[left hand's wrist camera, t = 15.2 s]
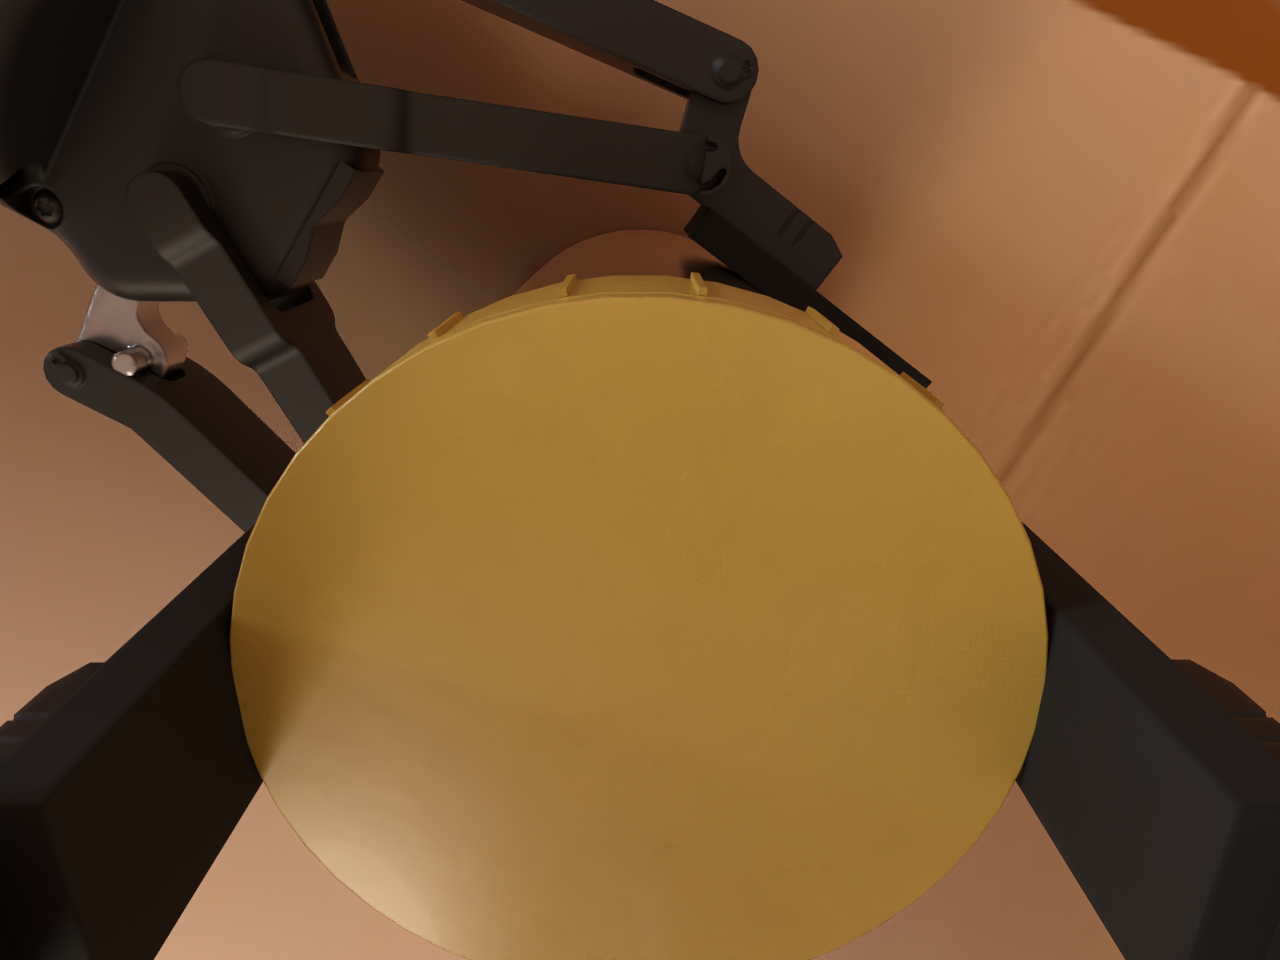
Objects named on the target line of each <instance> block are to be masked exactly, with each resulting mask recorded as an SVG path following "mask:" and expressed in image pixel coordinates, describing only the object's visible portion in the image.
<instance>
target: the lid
mask: <svg viewBox="0 0 1280 960" xmlns="http://www.w3.org/2000/svg"><path fill="white" fill-rule="evenodd" d="M839 330H840V329H839V328H838V327H836V326H835V325H834V324H833V323H831V322H830V321H829V320H828V319H826V318H825V317H824V316H823V315H821V314H820V313H819V312H818V311H816V310H815V309H813V308H811V307H809V306H808V308H807V309H806V311H805V312H804V311H801V310H799V309H797V308H794V307H792V306H789V305H787V304H785V303H782V302H780V301H778V300H775V299H773V298H771V297H768V296H765V295H762V294H758V293H754V292H751V291H747V290H743V289H740V288H736V287H732V286H728V285H725V284H721V283H717V282H711V281H703V279H702V277H701V275H700V274H699V273H695V272H691V276H690V279H688V278H680V277H672V276H665V275H638V276H604V277H597V278H590V279H583V280H577V279H576V274H571V275H567V277H566V278H565V280H564V281H563V282H561V283H556V284H553V285H549V286H545V287H542V288H538V289H535V290H531V291H528V292H524V293H521V294H517V295H513V296H510V297H507V298H505V299H502V300H500V301H498V302H495V303H493V304H491V305H488V306H486V307H484V308H482V309H479V310H477V311H475V312H472V313H470V314H468V315H466V316H463V315H462V314H461V312H460V311H459V312H457V313H455V314H453V315H452V316H451V317H449V318H448V319H447V320H446V321H444V322H443V323H442V324H440V325H439V326H438V327H436V328H435V329H434V330H433V331H431V332H430V333H429V334H428V335H427V336H428V338H427V339H425V340H423V341H422V342H420V343H419V344H417V345H416V346H415V347H413V348H412V349H411V350H410V351H408V352H407V353H406V354H404V355H403V356H402V357H401V358H399V359H398V360H397V361H396V362H394V363H393V364H392V365H390V366H389V367H388V368H387V369H385V370H384V371H383V372H381V373H380V374H379V375H378V376H376V377H375V378H374V379H373V380H371V381H370V380H369V379H367V380H365V381H364V382H363V383H361V384H360V385H359V386H358V387H356V388H355V389H354V390H352V391H351V392H350V393H348V394H347V395H346V396H345V397H343V398H342V399H341V400H339V401H338V402H337V403H335V404H334V405H333V406H331V407H330V408H329V409H328V410H327V412H326V414H327V415H328V416H329V417H328V418H327V419H326V420H325V422H324V423H323V424H322V425H321V426H320V427H319V428H318V429H317V431H316V432H315V433H314V434H313V435H312V436H311V437H310V438H309V440H308V441H307V442H306V443H305V444H304V445H303V446H302V447H301V449H300V450H299V451H298V452H297V453H296V454H295V455H294V457H293V459H292V460H291V462H290V463H289V465H288V466H287V468H286V469H285V471H284V473H283V474H282V476H281V477H280V479H279V480H278V482H277V483H276V485H275V487H274V488H273V490H272V491H271V493H270V494H269V496H268V497H267V499H266V501H265V503H264V506H263V508H262V510H261V513H260V515H259V517H258V519H257V522H256V524H255V526H254V528H253V531H252V533H251V535H250V538H249V540H248V542H247V544H246V548H245V552H244V556H243V559H242V563H241V567H240V571H239V575H238V579H237V583H236V586H235V590H234V598H233V609H232V619H231V630H230V655H231V666H232V672H233V678H234V683H235V688H236V692H237V697H238V702H239V707H240V711H241V716H242V721H243V725H244V730H245V735H246V739H247V743H248V746H249V749H250V752H251V755H252V757H253V760H254V763H255V765H256V768H257V770H258V772H259V774H260V776H261V778H262V780H263V782H264V783H265V785H266V787H267V789H268V791H269V793H270V794H271V796H272V798H273V800H274V802H275V803H276V805H277V807H278V809H279V811H280V812H281V813H282V815H283V816H284V817H285V819H286V820H287V821H288V823H289V824H290V825H291V827H292V828H293V830H294V831H295V832H296V834H297V835H298V836H299V838H300V839H301V840H302V842H303V843H304V845H305V846H306V847H307V848H308V849H309V850H310V851H311V852H312V853H313V854H314V855H315V856H316V857H317V858H318V860H319V861H320V862H321V863H322V864H323V865H324V866H325V867H326V868H327V869H328V870H329V871H330V872H331V873H332V874H333V875H334V876H335V877H336V878H337V879H338V880H339V881H340V882H342V883H343V884H344V885H345V886H346V887H348V888H349V889H350V890H351V891H352V892H354V893H355V894H356V895H357V896H358V897H360V898H361V899H362V900H363V901H364V902H366V903H367V904H368V905H369V906H371V907H372V908H374V909H375V910H377V911H378V912H380V913H381V914H383V915H384V916H386V917H387V918H389V919H390V920H392V921H393V922H395V923H396V924H398V925H399V926H401V927H402V928H404V929H405V930H407V931H409V932H411V933H413V934H415V935H417V936H419V937H421V938H423V939H424V940H426V941H428V942H430V943H432V944H434V945H436V946H438V947H440V948H442V949H444V950H446V951H448V952H451V953H453V954H456V955H458V956H461V957H463V958H466V959H468V960H810V959H812V958H815V957H817V956H820V955H822V954H825V953H827V952H830V951H832V950H835V949H837V948H839V947H841V946H843V945H844V944H846V943H848V942H850V941H852V940H854V939H856V938H858V937H860V936H861V935H863V934H865V933H867V932H869V931H871V930H873V929H875V928H876V927H878V926H879V925H881V924H882V923H884V922H885V921H887V920H888V919H890V918H891V917H893V916H894V915H896V914H897V913H899V912H900V911H902V910H903V909H905V908H906V907H907V906H909V905H910V904H912V903H913V902H914V901H915V900H917V899H918V898H919V897H920V896H921V895H922V894H924V893H925V892H926V891H927V890H928V889H930V888H931V887H932V886H933V885H934V884H935V883H937V882H938V881H939V880H940V879H941V878H942V877H944V876H945V875H946V874H947V873H948V872H949V871H950V869H951V868H952V867H953V866H954V865H955V864H956V863H957V862H958V861H959V860H960V859H961V858H962V857H963V855H964V854H965V853H966V852H967V851H968V850H969V849H970V848H971V847H972V846H973V845H974V844H975V842H976V841H977V840H978V838H979V837H980V836H981V834H982V833H983V831H984V830H985V829H986V827H987V826H988V824H989V823H990V822H991V820H992V819H993V817H994V816H995V815H996V813H997V812H998V811H999V809H1000V808H1001V806H1002V804H1003V802H1004V800H1005V799H1006V797H1007V795H1008V793H1009V791H1010V789H1011V787H1012V785H1013V784H1014V782H1015V780H1016V778H1017V776H1018V774H1019V772H1020V770H1021V769H1022V766H1023V763H1024V761H1025V758H1026V755H1027V752H1028V750H1029V747H1030V744H1031V741H1032V738H1033V734H1034V730H1035V726H1036V721H1037V717H1038V712H1039V707H1040V702H1041V697H1042V693H1043V688H1044V683H1045V677H1046V672H1047V654H1048V628H1047V619H1046V610H1045V600H1044V591H1043V586H1042V582H1041V579H1040V575H1039V571H1038V568H1037V564H1036V560H1035V557H1034V553H1033V549H1032V546H1031V542H1030V540H1029V537H1028V535H1027V533H1026V531H1025V529H1024V526H1023V524H1022V522H1021V520H1020V518H1019V515H1018V513H1017V511H1016V509H1015V507H1014V504H1013V502H1012V500H1011V498H1010V496H1009V494H1008V493H1007V491H1006V490H1005V488H1004V487H1003V485H1002V484H1001V482H1000V481H999V479H998V478H997V476H996V474H995V473H994V471H993V470H992V468H991V467H990V465H989V464H988V462H987V461H986V459H985V458H984V456H983V455H982V453H981V452H980V451H979V450H978V449H977V447H976V446H975V445H974V444H973V443H972V442H971V441H970V440H969V439H968V438H967V436H966V435H965V434H964V433H963V432H962V431H961V430H960V429H959V428H958V427H957V425H956V424H955V423H954V422H953V421H952V420H951V419H950V418H949V417H948V416H947V414H946V413H945V412H944V411H943V410H941V408H942V407H943V406H944V403H943V402H942V401H941V400H940V399H938V398H937V397H936V396H934V395H933V394H932V393H931V392H929V391H928V390H927V389H925V388H924V387H923V386H921V385H920V384H919V383H917V382H916V381H915V380H914V379H912V378H911V377H910V376H908V375H907V374H906V373H904V372H902V373H901V374H900V375H898V374H897V373H896V372H895V371H893V370H892V369H891V368H890V367H888V366H887V365H886V364H885V363H883V362H882V361H881V360H879V359H878V358H877V357H876V356H874V355H873V354H872V353H871V352H869V351H868V350H867V349H866V348H864V347H863V346H862V345H861V344H859V343H858V342H857V341H855V340H853V339H852V338H850V337H848V336H847V335H845V334H843V333H842V332H840V331H839Z"/></svg>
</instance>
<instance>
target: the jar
mask: <svg viewBox="0 0 1280 960" xmlns="http://www.w3.org/2000/svg"><path fill="white" fill-rule="evenodd" d="M691 272H695V273H699V274H700V275H701V277H702V279H703V281H711V282H717V283H721V284H725V285H728V286H732V287H736V288H740V289H743V290H747V291H751V292H754V293H758V294H762V293H761V292H760V291H758V290H757V289H756V288H754V287H753V286H752V285H751V284H749V283H748V282H747V281H745V280H744V279H743V278H741V277H740V276H739V275H738V274H736V273H735V272H734V271H732V270H731V269H730V268H729V267H727V266H726V265H725V264H723V263H722V262H721V261H719V260H718V259H717V258H716V257H714V256H713V255H712V254H710V253H709V252H708V251H706V250H705V249H704V248H703V247H701V246H700V245H699V244H697V243H696V242H695V241H693V240H692V239H690V238H688V237H685V236H682V235H678V234H674V233H669V232H665V231H658V230H646V229H635V230H620V231H615V232H610V233H605V234H601V235H598V236H595V237H592V238H589V239H586V240H583V241H581V242H579V243H577V244H575V245H573V246H571V247H569V248H567V249H565V250H564V251H562V252H561V253H559V254H558V255H556V256H555V257H553V258H552V259H551V260H549V261H548V262H547V263H546V264H545V265H544V266H543V267H541V268H540V269H539V270H538V271H537V272H536V273H535V274H534V275H533V276H532V277H531V278H530V279H529V280H528V281H527V282H526V283H525V284H524V285H523V286H522V287H520V288H519V289H518V290H517V291H516V292H515V293H514V294H513V295H517V294H521V293H524V292H528V291H531V290H535V289H538V288H542V287H545V286H549V285H553V284H556V283H561V282H563V281H564V280H565V278H566V277H567V275H571V274H576V279H577V280H583V279H590V278H597V277H604V276H638V275H665V276H672V277H680V278H688V279H690V276H691ZM513 295H512V296H513ZM762 295H764V294H762Z"/></svg>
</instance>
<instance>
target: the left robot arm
mask: <svg viewBox="0 0 1280 960" xmlns="http://www.w3.org/2000/svg"><path fill="white" fill-rule="evenodd" d="M1021 522H1022V521H1021ZM255 524H256V523H255ZM255 524H254V525H253V526H252V527H251V528H250V529H249V530H248V531H247V532H246V533H245V534H243V535H242V536H241V537H240V538H239V539H238V540H237V541H236V542H235V543H234V544H233V545H232V546H230V547H229V548H228V549H227V550H226V551H225V552H224V553H223V554H222V555H221V556H220V557H219V558H217V559H216V560H215V561H214V562H213V563H212V564H211V565H210V566H209V567H208V568H207V569H206V570H204V571H203V572H202V573H201V574H200V575H199V576H198V577H197V578H196V579H195V580H194V581H193V582H191V583H190V584H189V585H188V586H187V587H186V588H185V589H184V590H183V591H182V592H181V593H180V594H178V595H177V596H176V597H175V598H174V599H173V600H172V601H171V602H170V603H169V604H168V605H167V606H166V607H164V608H163V609H162V610H161V611H160V612H159V613H158V614H157V615H156V616H155V617H154V618H153V619H151V620H150V621H149V622H148V623H147V624H146V625H145V626H144V627H143V628H142V629H141V630H140V631H138V632H137V633H136V634H135V635H134V636H133V637H132V638H131V639H130V640H129V641H128V642H127V643H125V644H124V645H123V646H122V647H121V648H120V649H119V650H118V651H117V652H116V653H115V654H114V655H112V656H111V657H110V658H109V659H108V660H107V661H106V662H105V663H89V664H87V665H85V666H83V667H81V668H80V669H78V670H76V671H74V672H72V673H70V674H69V675H67V676H65V677H63V678H61V679H60V680H58V681H56V682H54V683H52V684H50V685H49V686H47V687H46V688H44V689H43V690H42V691H41V692H40V693H39V694H38V695H36V696H35V697H34V698H33V699H32V700H31V701H30V702H28V703H27V704H26V705H25V706H24V707H23V708H22V709H20V710H19V711H18V712H17V713H16V714H15V715H14V720H13V721H7V722H5V723H4V724H3V725H2V726H1V727H0V960H154V958H155V957H156V955H157V953H158V952H159V950H160V949H161V947H162V945H163V944H164V942H165V940H166V939H167V937H168V936H169V934H170V932H171V931H172V929H173V927H174V926H175V924H176V923H177V921H178V919H179V918H180V916H181V914H182V913H183V911H184V909H185V908H186V906H187V905H188V903H189V901H190V900H191V898H192V896H193V895H194V893H195V892H196V890H197V888H198V887H199V885H200V883H201V882H202V880H203V879H204V877H205V875H206V874H207V872H208V870H209V869H210V867H211V865H212V864H213V862H214V861H215V859H216V857H217V856H218V854H219V852H220V851H221V849H222V848H223V846H224V844H225V843H226V841H227V839H228V838H229V836H230V835H231V833H232V831H233V830H234V828H235V826H236V825H237V823H238V822H239V820H240V818H241V817H242V815H243V813H244V812H245V810H246V808H247V807H248V805H249V804H250V802H251V800H252V799H253V797H254V795H255V794H256V792H257V791H258V789H259V787H260V786H261V784H262V782H263V780H262V778H261V776H260V774H259V772H258V770H257V768H256V765H255V763H254V760H253V757H252V755H251V752H250V749H249V746H248V743H247V739H246V735H245V730H244V725H243V721H242V716H241V711H240V707H239V702H238V697H237V692H236V688H235V683H234V678H233V672H232V666H231V655H230V630H231V619H232V609H233V598H234V590H235V586H236V583H237V579H238V575H239V571H240V567H241V563H242V559H243V556H244V552H245V548H246V544H247V542H248V540H249V538H250V535H251V533H252V531H253V528H254V526H255ZM1022 524H1023V526H1024V529H1025V531H1026V533H1027V535H1028V537H1029V540H1030V542H1031V546H1032V549H1033V553H1034V557H1035V560H1036V564H1037V568H1038V571H1039V575H1040V579H1041V582H1042V586H1043V591H1044V600H1045V610H1046V619H1047V628H1048V654H1047V672H1046V677H1045V683H1044V688H1043V693H1042V697H1041V702H1040V707H1039V712H1038V717H1037V721H1036V726H1035V730H1034V734H1033V738H1032V741H1031V744H1030V747H1029V750H1028V752H1027V755H1026V758H1025V761H1024V763H1023V766H1022V769H1021V770H1020V772H1019V774H1018V776H1017V778H1016V780H1015V781H1016V782H1017V784H1018V785H1019V787H1020V789H1021V790H1022V792H1023V794H1024V795H1025V797H1026V798H1027V800H1028V802H1029V803H1030V805H1031V807H1032V808H1033V810H1034V812H1035V813H1036V815H1037V816H1038V818H1039V820H1040V821H1041V823H1042V825H1043V826H1044V828H1045V829H1046V831H1047V833H1048V834H1049V836H1050V838H1051V839H1052V841H1053V842H1054V844H1055V846H1056V847H1057V849H1058V851H1059V852H1060V854H1061V856H1062V857H1063V859H1064V860H1065V862H1066V864H1067V865H1068V867H1069V869H1070V870H1071V872H1072V873H1073V875H1074V877H1075V878H1076V880H1077V882H1078V883H1079V885H1080V886H1081V888H1082V890H1083V891H1084V893H1085V895H1086V896H1087V898H1088V900H1089V901H1090V903H1091V904H1092V906H1093V908H1094V909H1095V911H1096V913H1097V914H1098V916H1099V917H1100V919H1101V921H1102V922H1103V924H1104V926H1105V927H1106V929H1107V930H1108V932H1109V934H1110V935H1111V937H1112V939H1113V940H1114V942H1115V943H1116V945H1117V947H1118V948H1119V950H1120V952H1121V953H1122V955H1123V957H1124V958H1125V960H1280V724H1279V723H1278V722H1277V721H1276V720H1275V719H1273V718H1267V717H1266V712H1265V711H1264V710H1263V709H1262V708H1261V707H1260V706H1258V705H1257V704H1256V703H1255V702H1254V701H1253V700H1252V699H1250V698H1249V697H1248V696H1247V695H1246V694H1245V693H1243V692H1242V691H1241V690H1240V689H1239V688H1238V687H1237V686H1235V685H1234V684H1233V683H1231V682H1229V681H1227V680H1226V679H1224V678H1222V677H1220V676H1218V675H1217V674H1215V673H1213V672H1211V671H1209V670H1207V669H1206V668H1204V667H1202V666H1200V665H1198V664H1196V663H1195V662H1193V661H1191V660H1171V659H1170V658H1169V657H1168V656H1167V655H1166V654H1164V653H1163V652H1162V651H1161V650H1160V649H1159V648H1158V647H1157V646H1156V645H1155V644H1154V643H1153V642H1151V641H1150V640H1149V639H1148V638H1147V637H1146V636H1145V635H1144V634H1143V633H1142V632H1141V631H1140V630H1138V629H1137V628H1136V627H1135V626H1134V625H1133V624H1132V623H1131V622H1130V621H1129V620H1128V619H1127V618H1125V617H1124V616H1123V615H1122V614H1121V613H1120V612H1119V611H1118V610H1117V609H1116V608H1115V607H1114V606H1112V605H1111V604H1110V603H1109V602H1108V601H1107V600H1106V599H1105V598H1104V597H1103V596H1102V595H1101V594H1099V593H1098V592H1097V591H1096V590H1095V589H1094V588H1093V587H1092V586H1091V585H1090V584H1089V583H1088V582H1087V581H1085V580H1084V579H1083V578H1082V577H1081V576H1080V575H1079V574H1078V573H1077V572H1076V571H1075V570H1074V569H1072V568H1071V567H1070V566H1069V565H1068V564H1067V563H1066V562H1065V561H1064V560H1063V559H1062V558H1061V557H1059V556H1058V555H1057V554H1056V553H1055V552H1054V551H1053V550H1052V549H1051V548H1050V547H1049V546H1048V545H1046V544H1045V543H1044V542H1043V541H1042V540H1041V539H1040V538H1039V537H1038V536H1037V535H1036V534H1035V533H1033V532H1032V531H1031V530H1030V529H1029V528H1028V527H1027V526H1026V525H1025V524H1024V523H1023V522H1022Z"/></svg>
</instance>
